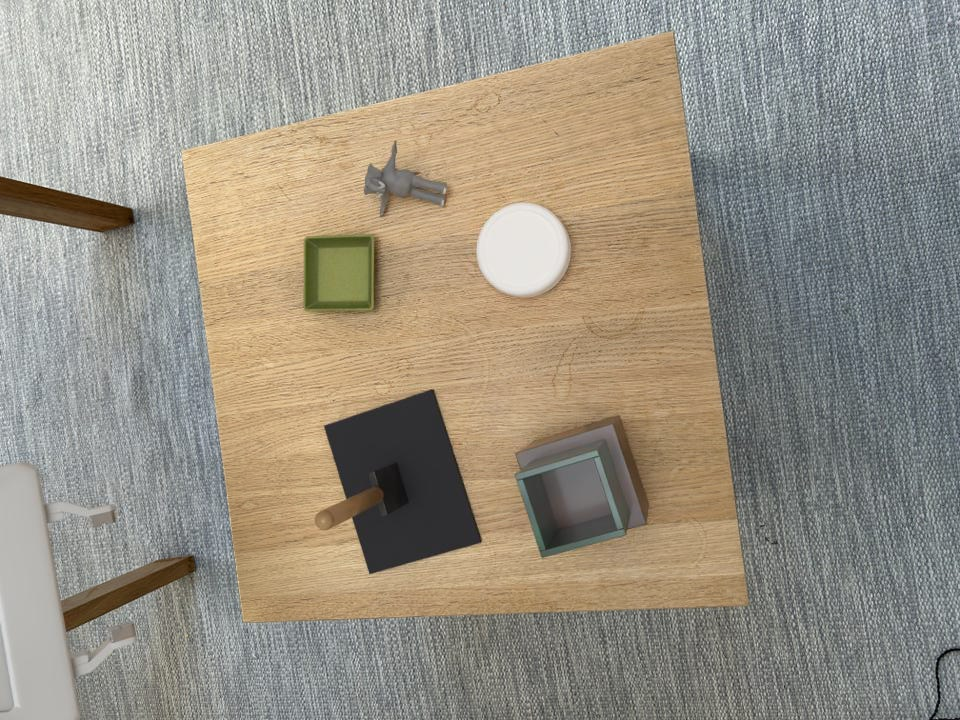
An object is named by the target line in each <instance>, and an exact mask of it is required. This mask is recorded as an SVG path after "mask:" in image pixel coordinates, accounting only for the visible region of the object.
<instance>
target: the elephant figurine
mask: <svg viewBox="0 0 960 720" xmlns="http://www.w3.org/2000/svg"><path fill="white" fill-rule="evenodd" d="M397 143H398V142H397V140H394V141H393V144H392V146H391V152H390V153H391V155H390V157H389V159H388V161H387V163H386V165H385V166H384V167H383V168H381V169H379V168H377V167H375V166H374V165H373V164H372V163H369V164H368V165H367V171H366V174H365V177H364V188H363V194H364V195H365V196H367V195H376V194H377V195H376V196H375V199H378V198H380V203H381V204H380V207H379V213H380V214H379V217H380V218H382V216H383V215H384V213H385V210H386V207H387V201H388V199H389V196H390V193H391V194H393V195H394V196H396V197H398V198H406V197H408V196H411V197H412V198H414V199H419V200H423V201H426V202H429V203H433V204H435V205H438V206H440V207H444V205H445V195H446V193H447V188H448V187H447V185H448V184H447V183H445V182H442V181H435V180H429V179H427V178H424V177H420V176H417V174H420V171H411V170H410V169H407V168H400V169H399V168H398V169H397V168H396V157H397V154H398V146H397ZM424 189H425V190H424ZM427 190H429V191H427ZM431 191H432V192H431ZM435 192H438V193H435Z"/></svg>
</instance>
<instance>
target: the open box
mask: <svg viewBox="0 0 960 720" xmlns="http://www.w3.org/2000/svg"><path fill="white" fill-rule="evenodd" d="M514 454H515V457H516V460H517V464H518V467H519V470H518V471H517V472H515V473H514V478H515V480H516V483H517V486H518V487H517V488H518V489H519V493H520V496H521V499H522V503H523V505H524V508H525V512H526V514H527V517H528V521H529V523H530V527H531V530H532V533H533V536H534V539H535V542H536V545H537V549H538V552H539V554H540V557H541V558H542V559H543V558H548V557H551V556H555V555H560V554H563V553H566V552H570V551H574V550H577V549H581V548H585V547H589V546H592V545H596V544H599V543H603V542H605V541H606V542H607V541H610V540H615V539H617V538H621V537H625V536H627V532H628V530H632V529H636V528H639V527H642V526H646V525H647V524H648V516H649V507H650V501H649V499H648V496H647V493H646V491H645V490H646V489H645V488H644V485H643V481H642V478H641V475H640V472H639V470H638V466H637V464H636V460H635V458H634V455H633V452H632V449H631V445H630V443H629V440H628V436H627V434H626V431H625V428H624V425H623V421H622V419H621V416H620V414H617V415H613V416H610V417H607V418H604V419H602V420H601V419H600V420H598V421H595V422H591V423H589V424H586V425H581V426H579V427H575V428H572V429H569V430H565V431H563V432H559V433H555V434H553V435H549V436H546V437H543V438H540V439H537V440H533V441H531V442H530V443H529V444H527V445H525V446H524V447H523V448H521V449H520V450H518V451H516V452H515V453H514Z"/></svg>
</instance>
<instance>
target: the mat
mask: <svg viewBox="0 0 960 720" xmlns="http://www.w3.org/2000/svg"><path fill="white" fill-rule="evenodd" d="M323 428H324V431H325V434H326V438H327V441H328V445H329V448H330V451H331V454H332V457H333V460H334V463H335V467H336V470H337V473H338V476H339V480H340V483H341V486H342V489H343V490H342V491H343V492H344V495H345V500H346V499H348V498H350V497H352V496H354V495H357V494H359V493H361V492H363V491H365V490H367V489H370V488H372V487H373V486H372V483H371V480H370V477H369V473H370V472H373V471H375V470H378V469H380V468H383V467H385V466H387V465H390V464H393V463H397V466H398V469H399V472H400V475H401V478H402V482H403V485H404V488H405V491H406V494H407V498H408V501H409V503H407V504H406V505H404V506H402V507H400V508H399V509H397V510H395V511H394V512H392V513H390V514H388V515H386V516H383V517H382V515H381V512H380V509H379V506H378V504H377V505H375V506H373V507H371V508H369V509H367V510H365V511H363V512H361V513H359V514H357V515H356V516H354V517H352V518H351V519H352V522H353V526H354V528H355V529H354V530H355V532H356V536H357V539H358V542H359V545H360V548H361V551H362V555H363V559H364V562H365V564H366V568H367V571H368V574H369V575H372V574H375V573H378V572H382V571H386V570H389V569H393V568H396V567H400V566H404V565H408V564H411V563H415V562H418V561H421V560H425V559H428V558H432V557H435V556H439V555H443V554H446V553H450V552H453V551H457V550H461V549H464V548H467V547H471V546H474V545H478V544H481V543H482V542H483V540H482V537H481V534H480V531H479V528H478V525H477V521H476V518H475V515H474V512H473V509H472V507H471V506H472V505H471V502H470V499H469V497H468V493H467V490H466V487H465V484H464V481H463V477H462V474H461V472H460V468H459V466H458V465H459V464H458V462H457V459H456V455H455V453H454V450H453V446H452V443H451V440H450V437H449V433H448V431H447V428H446V424H445V421H444V418H443V414H442V412H441V409H440V406H439V403H438V399H437V396H436V393H435V390H434V389H433V388H432V389H429V390H426V391H422V392H420V393H416V394H414V395H411V396H408V397H406V398H402V399H400V400H396V401H393V402H389V403H388V404H385V405H381V406H379V407H376V408H372V409H369V410H367V411H364V412H360V413H358V414H355V415H352V416H348V417H346V418H343V419H339V420H337V421H334V422H331V423H327V424H324V425H323Z"/></svg>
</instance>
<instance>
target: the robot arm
mask: <svg viewBox="0 0 960 720" xmlns="http://www.w3.org/2000/svg"><path fill="white" fill-rule="evenodd" d="M43 496H44V495H43V491H42V485H41V479H40V473H39V469H38V468H37V467H36V466H35V465H33V464H32V463H30V462H27V461H19V462H15V463H10V464H5V465H1V466H0V720H79V719H80V717H81V709H80V704H79V696H78V691H77V686H76V680H75V678H78V677H81V676H84V675H88V674H90V673H92V672H93V671H94V670H95V669H96V668H97V667H99V666H100V665H101V663H103V662H104V661H105V660H106V659H107V658H108V657H109V656H110V655H111V654H112V653H113V652H114V650H118V649H120V648H123V647H126V646H129V645H133V644H135V643H138V636H137V631H136V626H135V622H134V620H128V621H124V622H122V623H121V624H115V625H109V626H108V627H107V629H108V638H107V639H106V640H104V642H102V643H101V644H100V645H99V646H98V647H96V648H95V649H94V650H93V651H92V652H91V653H90V654H88V652H87V650H86V649H81V650H78V651H74V652H70V651H71V650H70V645H69V641H68V633H67V628H66V623H65V617H64V611H63V606H62V600H61V595H60V594H61V593H60V589H59V582H58V577H57V571H56V564H55V560H54V555H53V554H54V553H53V548H52V542H51V535H50V530H49V525H48V524H50V523H54V522H58V521H62V520H64V519H65V515H64V513H68V514H71V515H76V516H80V517H83V518H88V521H89V523H88V524H89V527H90V528H91V529H95V528H99V527H102V526H104V524H105V525H112V524H116V523H117V520H116V513H115V507H114V504H113V503H109V504H104V505H99V506H95V507H90V508H89V507H86V506H82V505H78V504H75V503H71V502H68V501H63V500H57V501H52V502H48V503H45V501H44V497H43Z"/></svg>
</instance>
